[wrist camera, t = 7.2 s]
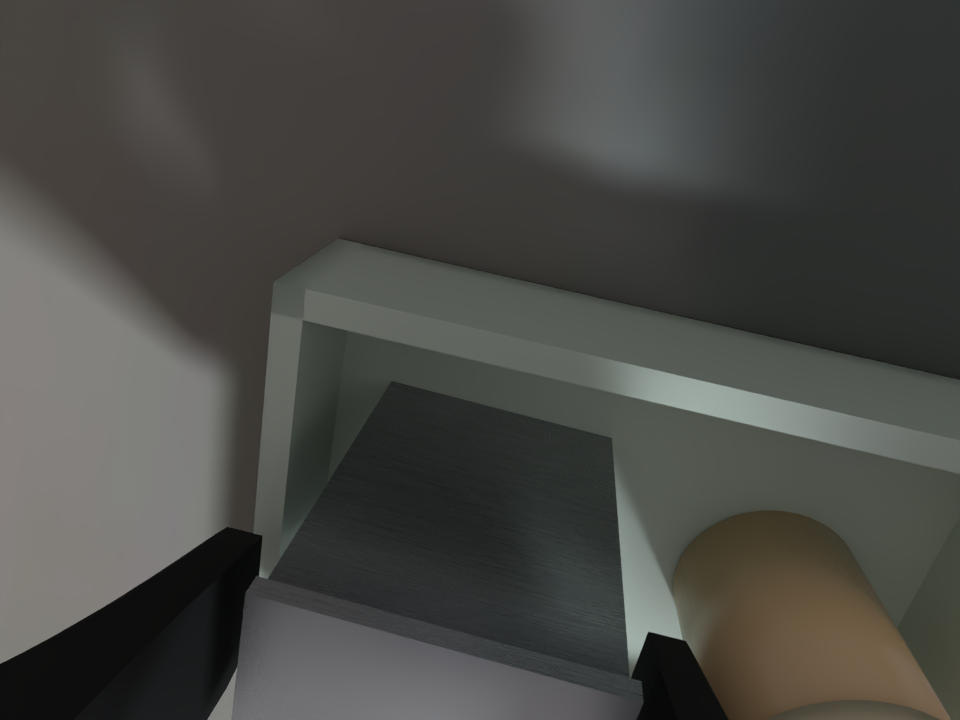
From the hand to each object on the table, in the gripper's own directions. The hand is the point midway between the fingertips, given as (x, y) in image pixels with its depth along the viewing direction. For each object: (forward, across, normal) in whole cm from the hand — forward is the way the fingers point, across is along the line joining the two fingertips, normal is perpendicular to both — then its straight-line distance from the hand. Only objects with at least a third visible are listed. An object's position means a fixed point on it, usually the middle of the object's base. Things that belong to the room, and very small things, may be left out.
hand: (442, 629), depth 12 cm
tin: (+3, 0, 0) cm, 3 cm away
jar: (+3, -6, 0) cm, 7 cm away
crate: (+4, -3, 0) cm, 5 cm away
